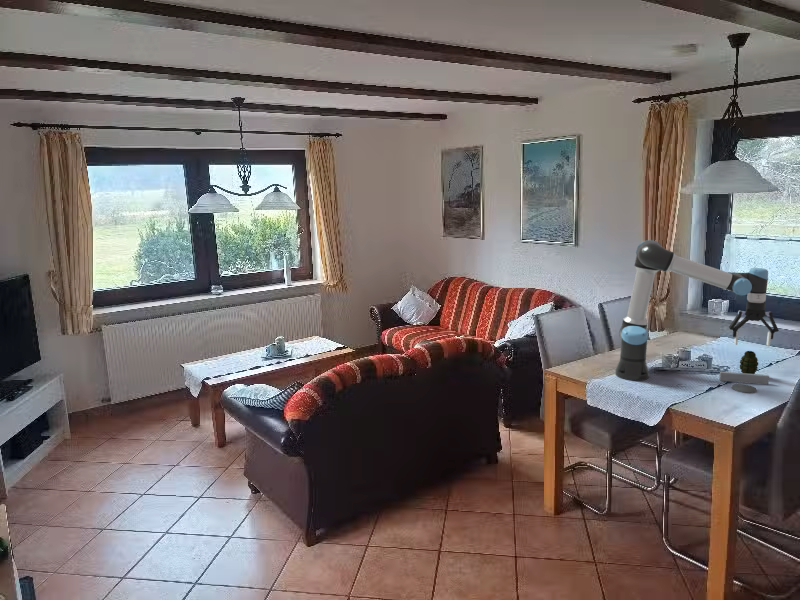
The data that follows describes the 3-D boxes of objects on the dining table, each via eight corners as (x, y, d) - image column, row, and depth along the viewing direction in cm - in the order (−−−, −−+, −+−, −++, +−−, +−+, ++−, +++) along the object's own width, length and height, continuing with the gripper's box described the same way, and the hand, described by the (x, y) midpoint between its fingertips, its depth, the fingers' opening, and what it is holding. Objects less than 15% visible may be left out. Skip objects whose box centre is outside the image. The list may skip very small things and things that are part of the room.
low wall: (719, 380, 274) (720, 372, 274) (719, 379, 276) (720, 371, 275) (768, 384, 268) (769, 376, 268) (767, 383, 270) (768, 375, 269)
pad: (734, 392, 260) (734, 390, 260) (729, 384, 270) (729, 383, 269) (759, 394, 257) (759, 392, 257) (753, 386, 267) (753, 385, 266)
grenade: (759, 378, 276) (762, 354, 273) (741, 377, 277) (744, 353, 275) (753, 373, 283) (756, 349, 281) (735, 372, 285) (738, 349, 282)
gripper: (728, 302, 273) (724, 345, 277) (789, 303, 265) (784, 348, 270) (724, 298, 280) (720, 341, 284) (784, 300, 272) (779, 343, 277)
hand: (751, 344), depth 277 cm, fingers open, 13 cm apart
